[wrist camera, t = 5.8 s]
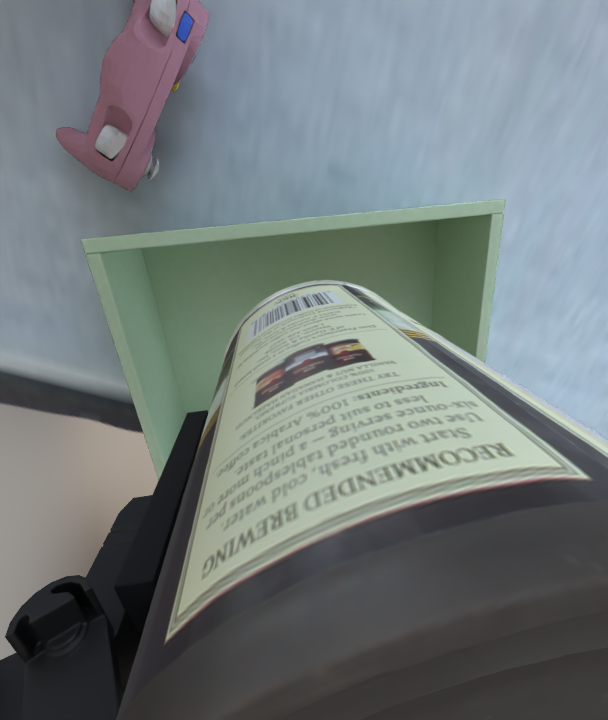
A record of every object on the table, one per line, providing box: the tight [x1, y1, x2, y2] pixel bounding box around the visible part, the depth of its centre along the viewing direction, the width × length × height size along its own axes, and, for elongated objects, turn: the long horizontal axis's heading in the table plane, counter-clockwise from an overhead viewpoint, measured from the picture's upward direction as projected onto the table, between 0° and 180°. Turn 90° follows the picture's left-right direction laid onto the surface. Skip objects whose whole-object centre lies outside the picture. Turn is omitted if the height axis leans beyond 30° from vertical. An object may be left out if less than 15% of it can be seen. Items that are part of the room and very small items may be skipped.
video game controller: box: [56, 0, 209, 192], centre depth 17 cm, size 10×5×7 cm, turn 147°
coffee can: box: [116, 280, 608, 720], centre depth 11 cm, size 10×10×14 cm
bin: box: [81, 199, 505, 479], centre depth 23 cm, size 16×22×6 cm
